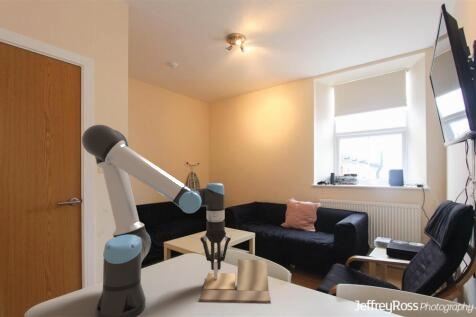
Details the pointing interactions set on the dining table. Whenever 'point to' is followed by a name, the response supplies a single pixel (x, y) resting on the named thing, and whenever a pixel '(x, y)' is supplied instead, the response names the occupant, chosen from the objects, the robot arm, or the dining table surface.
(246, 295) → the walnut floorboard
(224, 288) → the striped wooden square slab
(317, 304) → the dining table surface
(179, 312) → the dining table surface
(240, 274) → the square wooden panel
